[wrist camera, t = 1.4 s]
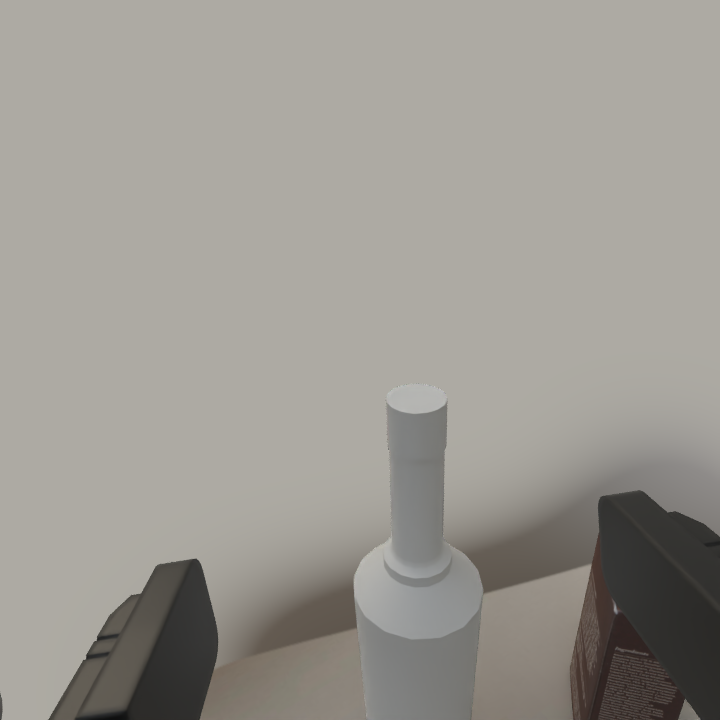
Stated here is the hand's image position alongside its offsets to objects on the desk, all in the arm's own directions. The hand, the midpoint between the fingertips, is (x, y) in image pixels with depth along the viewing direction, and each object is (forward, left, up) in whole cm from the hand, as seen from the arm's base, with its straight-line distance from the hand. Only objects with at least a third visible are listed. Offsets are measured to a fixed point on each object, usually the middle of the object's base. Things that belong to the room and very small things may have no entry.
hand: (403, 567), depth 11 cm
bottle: (-1, +8, -26) cm, 27 cm away
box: (+9, +15, -26) cm, 32 cm away
